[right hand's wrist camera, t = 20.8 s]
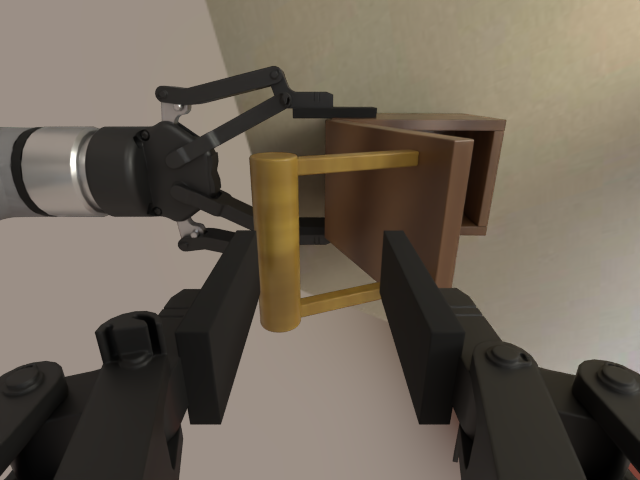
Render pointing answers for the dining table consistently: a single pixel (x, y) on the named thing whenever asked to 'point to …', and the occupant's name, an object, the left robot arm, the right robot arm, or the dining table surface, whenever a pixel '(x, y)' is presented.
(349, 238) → the lid
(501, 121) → the chest
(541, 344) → the dining table surface
